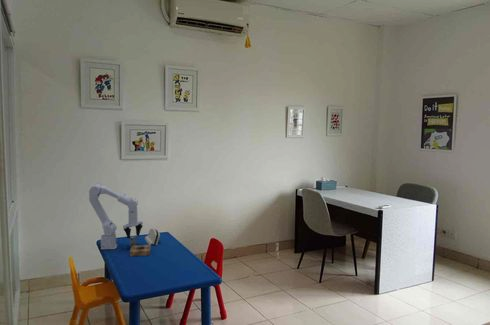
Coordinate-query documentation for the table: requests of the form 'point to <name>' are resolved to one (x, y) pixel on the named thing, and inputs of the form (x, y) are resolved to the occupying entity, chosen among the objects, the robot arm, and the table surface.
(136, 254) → the block
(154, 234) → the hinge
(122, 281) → the table surface
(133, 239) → the pin
